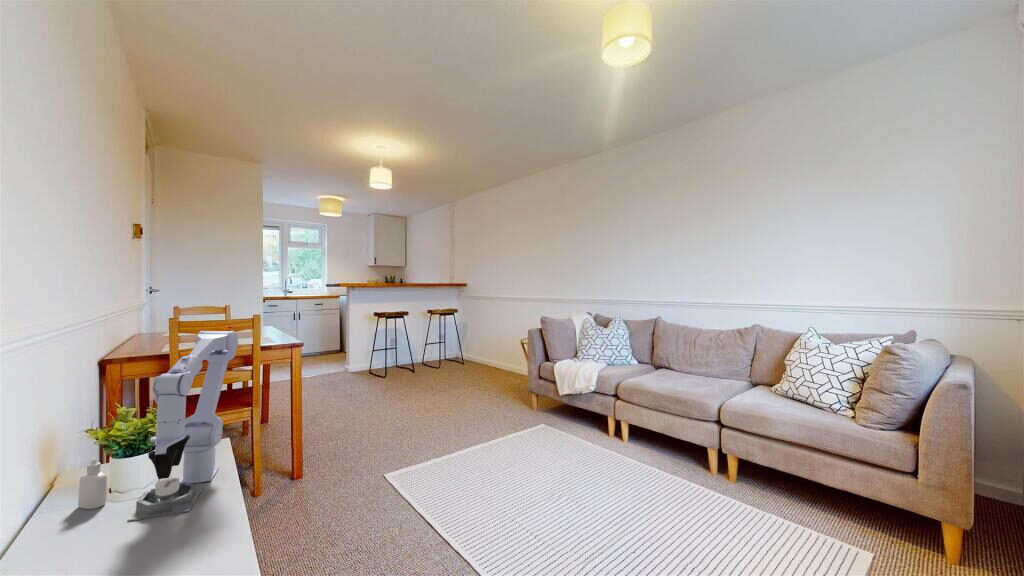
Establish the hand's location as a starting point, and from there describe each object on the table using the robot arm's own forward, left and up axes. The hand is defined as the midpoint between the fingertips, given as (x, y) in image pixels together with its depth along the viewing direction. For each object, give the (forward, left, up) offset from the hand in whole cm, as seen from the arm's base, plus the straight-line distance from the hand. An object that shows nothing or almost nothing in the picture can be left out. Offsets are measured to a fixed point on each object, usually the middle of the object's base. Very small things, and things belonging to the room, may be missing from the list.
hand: (169, 471), depth 105 cm
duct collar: (0, 0, -9) cm, 9 cm away
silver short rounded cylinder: (0, 0, -8) cm, 8 cm away
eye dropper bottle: (-6, -17, -9) cm, 20 cm away
